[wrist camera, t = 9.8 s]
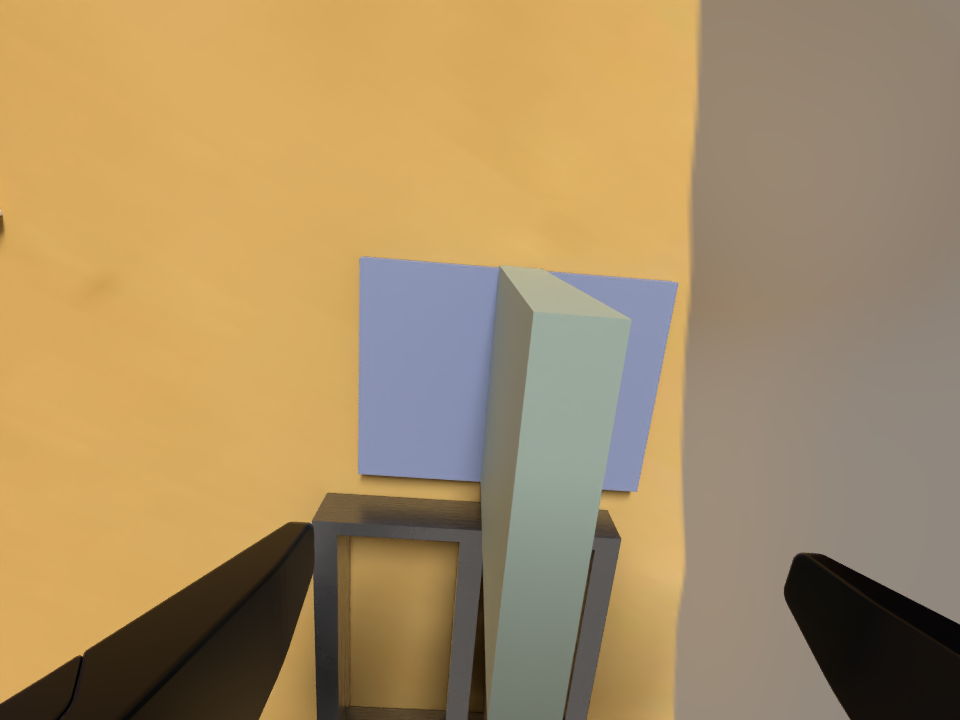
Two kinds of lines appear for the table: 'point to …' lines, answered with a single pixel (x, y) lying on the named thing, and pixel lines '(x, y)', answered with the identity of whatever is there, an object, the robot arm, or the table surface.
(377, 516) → the rack
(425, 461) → the mat
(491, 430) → the green upright panel
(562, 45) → the table surface
